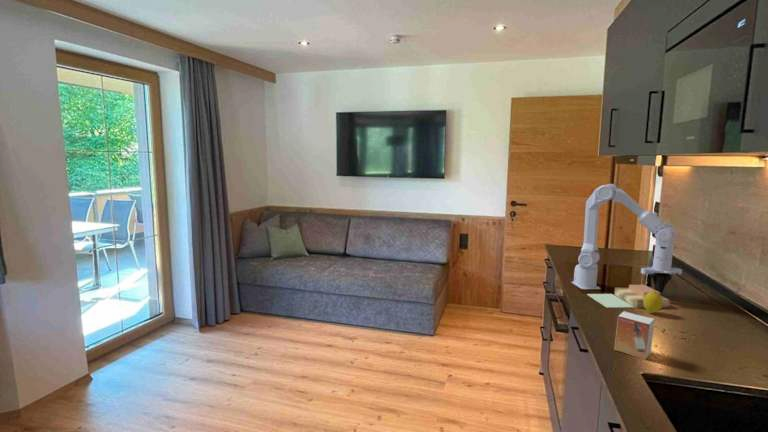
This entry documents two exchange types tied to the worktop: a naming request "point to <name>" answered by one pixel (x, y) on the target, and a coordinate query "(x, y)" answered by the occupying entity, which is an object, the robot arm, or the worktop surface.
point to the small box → (634, 335)
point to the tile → (642, 290)
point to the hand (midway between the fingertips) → (658, 292)
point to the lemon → (652, 302)
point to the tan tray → (636, 298)
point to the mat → (610, 301)
